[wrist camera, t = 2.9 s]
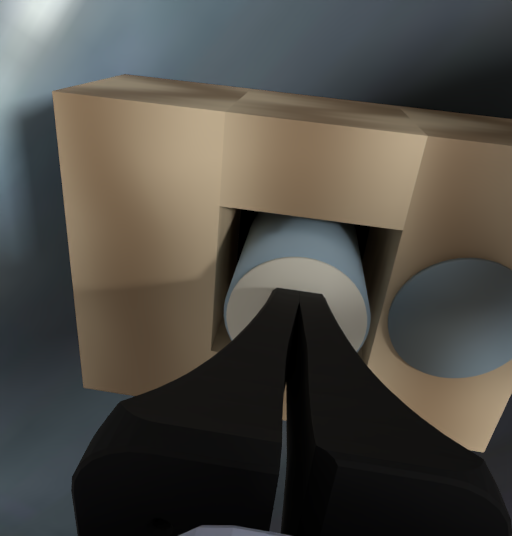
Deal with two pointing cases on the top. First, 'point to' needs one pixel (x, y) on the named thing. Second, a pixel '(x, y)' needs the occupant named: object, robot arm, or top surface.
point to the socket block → (294, 204)
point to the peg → (300, 271)
